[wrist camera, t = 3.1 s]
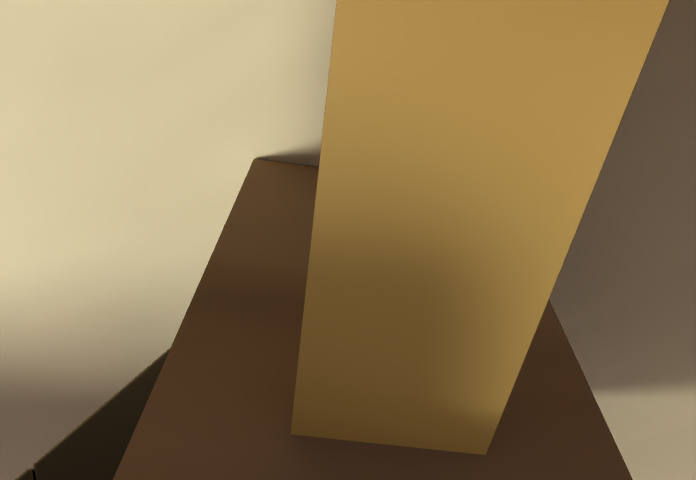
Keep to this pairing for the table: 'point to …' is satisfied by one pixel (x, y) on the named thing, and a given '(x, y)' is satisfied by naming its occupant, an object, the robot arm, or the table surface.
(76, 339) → the table surface
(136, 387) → the robot arm
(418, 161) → the mallet
